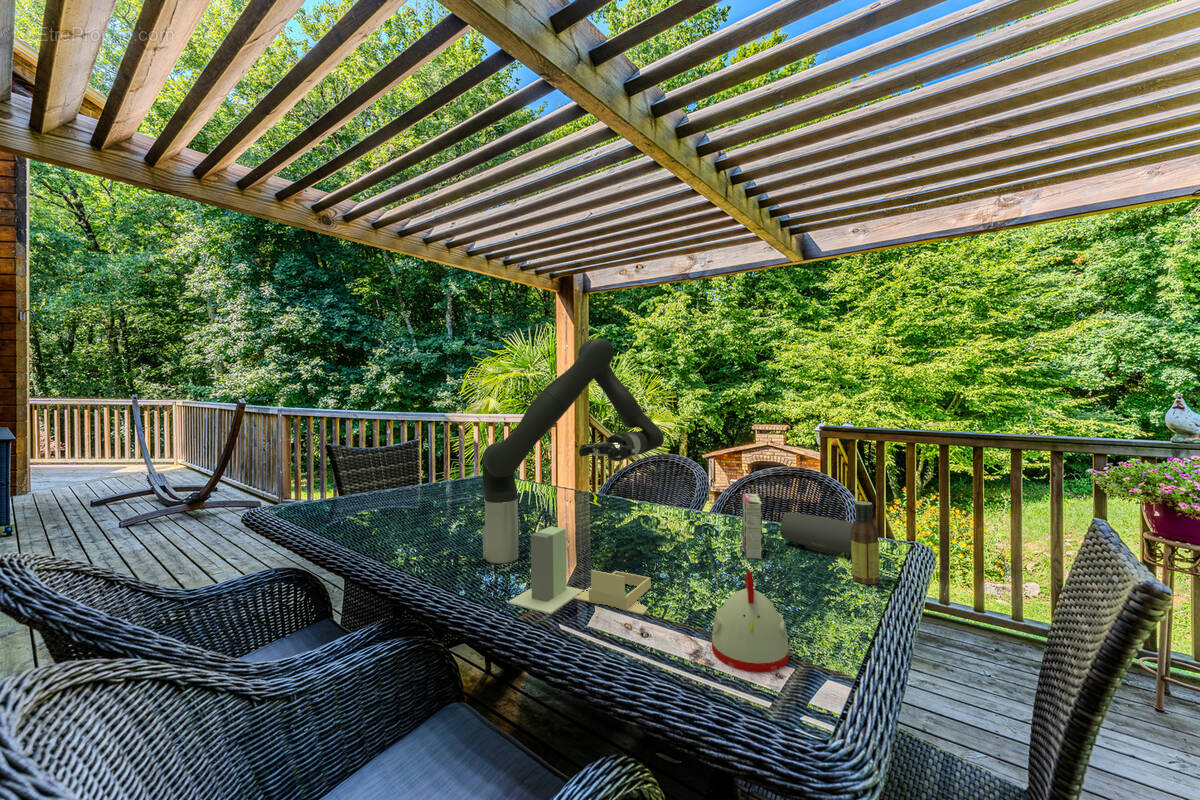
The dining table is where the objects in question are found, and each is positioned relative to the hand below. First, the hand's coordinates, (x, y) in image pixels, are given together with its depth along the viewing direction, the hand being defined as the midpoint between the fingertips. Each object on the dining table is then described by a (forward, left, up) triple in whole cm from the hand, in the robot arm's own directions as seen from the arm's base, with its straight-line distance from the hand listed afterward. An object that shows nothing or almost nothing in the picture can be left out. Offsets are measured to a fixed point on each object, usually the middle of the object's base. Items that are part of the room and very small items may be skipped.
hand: (594, 453), depth 138 cm
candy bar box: (+32, +36, -32) cm, 58 cm away
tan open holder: (+12, -7, -32) cm, 35 cm away
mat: (-3, -18, -32) cm, 37 cm away
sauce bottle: (+62, +28, -32) cm, 75 cm away
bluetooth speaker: (+50, +48, -32) cm, 76 cm away
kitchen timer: (+45, -20, -32) cm, 59 cm away
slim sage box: (-3, -17, -32) cm, 36 cm away
